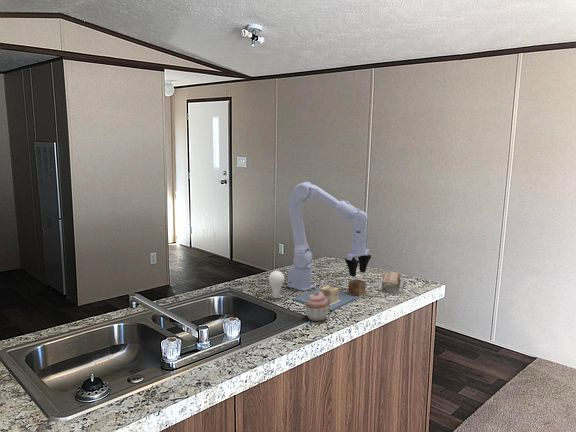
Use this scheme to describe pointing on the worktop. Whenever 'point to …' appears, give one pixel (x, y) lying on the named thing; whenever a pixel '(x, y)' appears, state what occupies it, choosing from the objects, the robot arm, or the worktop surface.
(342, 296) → the board
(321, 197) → the robot arm
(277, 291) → the lightbulb
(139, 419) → the worktop surface
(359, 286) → the walnut block
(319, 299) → the cupcake
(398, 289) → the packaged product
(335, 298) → the maple block
